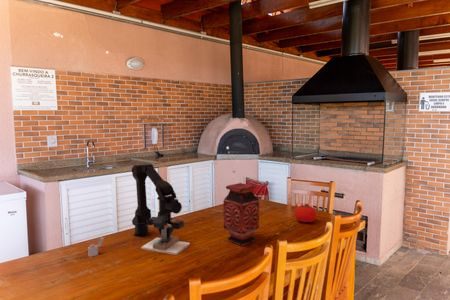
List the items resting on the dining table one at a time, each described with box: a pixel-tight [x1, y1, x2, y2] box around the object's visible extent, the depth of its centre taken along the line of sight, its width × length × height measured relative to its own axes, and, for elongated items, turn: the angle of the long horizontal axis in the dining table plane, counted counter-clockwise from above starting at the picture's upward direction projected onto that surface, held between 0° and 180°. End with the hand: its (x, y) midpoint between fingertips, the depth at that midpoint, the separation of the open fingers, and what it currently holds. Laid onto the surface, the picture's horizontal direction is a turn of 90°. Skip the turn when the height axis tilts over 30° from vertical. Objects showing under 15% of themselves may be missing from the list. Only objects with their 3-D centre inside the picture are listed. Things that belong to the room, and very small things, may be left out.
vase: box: [222, 182, 260, 247], centre depth 180 cm, size 14×14×30 cm
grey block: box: [160, 226, 170, 243], centre depth 173 cm, size 3×3×7 cm
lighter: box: [87, 236, 105, 258], centre depth 163 cm, size 7×2×8 cm, turn 125°
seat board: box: [141, 235, 191, 256], centre depth 173 cm, size 20×14×3 cm
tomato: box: [293, 204, 317, 223], centre depth 214 cm, size 13×12×11 cm
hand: (165, 239), depth 173 cm, fingers closed on grey block, 3 cm apart
